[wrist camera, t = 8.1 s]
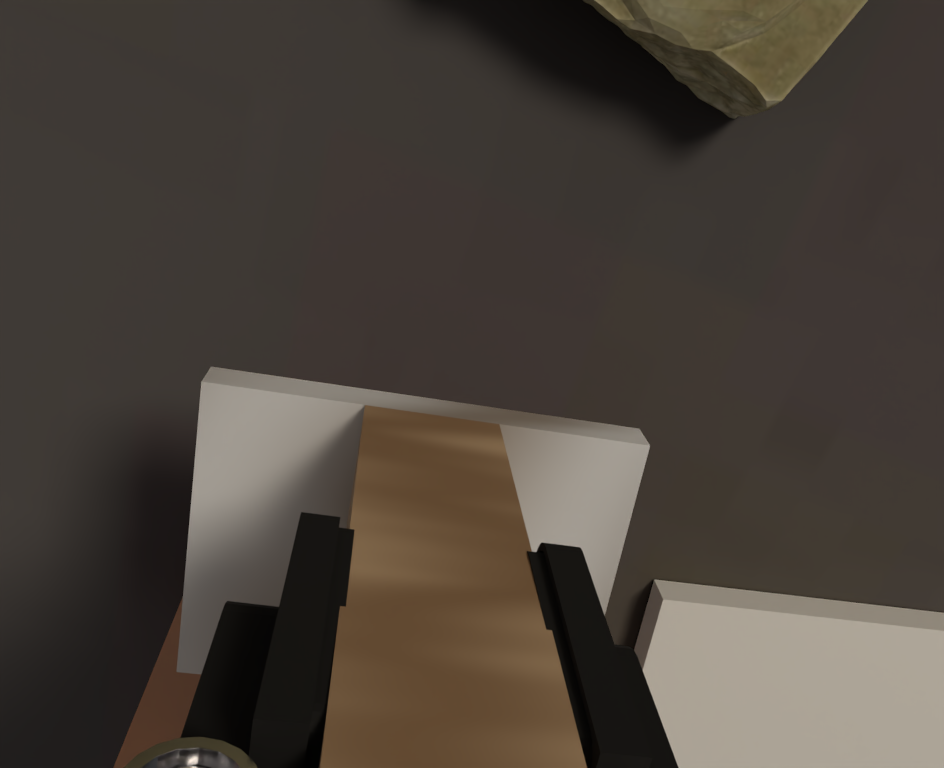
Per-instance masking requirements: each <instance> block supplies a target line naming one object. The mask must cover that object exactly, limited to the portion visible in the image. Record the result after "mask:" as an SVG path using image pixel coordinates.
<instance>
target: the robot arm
mask: <svg viewBox="0 0 944 768" xmlns="http://www.w3.org/2000/svg"><path fill="white" fill-rule="evenodd" d="M339 524H340V517H337V516H329V515H321V514H313V513H305V512H301V514H300V518H299V523H298V527H297V531H296V536H295V540H294V544H293V549H292V553H291V557H290V562H289V566H288V570H287V575H286V579H285V583H284V588H283V592H282V596H281V601H280V605H279V607H277V606H268V605H259V604H250V603H242V602H233V601H227V602H226V603H225V605H224V608H223V610H222V613H221V616H220V619H219V622H218V625H217V628H216V631H215V634H214V637H213V640H212V643H211V646H210V649H209V652H208V655H207V658H206V662H205V665H204V668H203V671H202V674H201V677H200V680H199V683H198V686H197V689H196V692H195V695H194V698H193V701H192V704H191V707H190V710H189V713H188V716H187V719H186V722H185V725H184V728H183V731H182V734H181V737H180V738H177V739H173V740H170V741H166V742H162V743H159V744H156V745H154V746H152V747H150V748H149V749H147V750H145V751H143V752H141V753H139V754H137V755H136V756H135V757H134V758H133V759H132V760H131V761H130V762H129V763H128V764H127V765H126V766H125V767H123V768H319V762H320V755H321V749H322V742H323V735H324V728H325V721H326V714H327V706H328V698H329V690H330V682H331V674H332V666H333V658H334V650H335V642H336V634H337V626H338V618H339V610H340V606H344V607H346V602H347V593H348V584H349V575H350V566H351V557H352V549H353V540H354V531H355V530H354V529H348V528H340V527H339ZM527 553H528V557H529V561H530V565H531V569H532V573H533V577H534V581H535V586H536V590H537V594H538V598H539V602H540V606H541V610H542V614H543V618H544V622H545V626H546V630H552V632H553V636H554V640H555V644H556V648H557V652H558V656H559V660H560V664H561V668H562V672H563V676H564V679H565V683H566V687H567V691H568V695H569V699H570V703H571V707H572V711H573V715H574V719H575V723H576V727H577V730H578V734H579V738H580V742H581V746H582V750H583V754H584V758H585V762H586V766H587V768H678V765H677V762H676V760H675V757H674V754H673V751H672V749H671V746H670V743H669V741H668V738H667V735H666V733H665V730H664V727H663V724H662V722H661V719H660V716H659V714H658V711H657V708H656V705H655V703H654V700H653V697H652V695H651V692H650V689H649V686H648V684H647V681H646V678H645V676H644V673H643V670H642V667H641V665H640V662H639V659H638V657H637V655H636V653H635V651H634V649H632V648H631V647H629V646H622V645H614V642H613V639H612V636H611V634H610V631H609V628H608V625H607V622H606V619H605V616H604V613H603V610H602V607H601V604H600V601H599V598H598V595H597V592H596V589H595V586H594V583H593V580H592V577H591V574H590V571H589V568H588V565H587V562H586V560H585V557H584V554H583V551H582V549H581V548H580V547H574V546H566V545H558V544H550V543H543V542H542V543H541V544H540V545H539V547H538V549H537V552H530V551H527Z"/></svg>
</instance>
